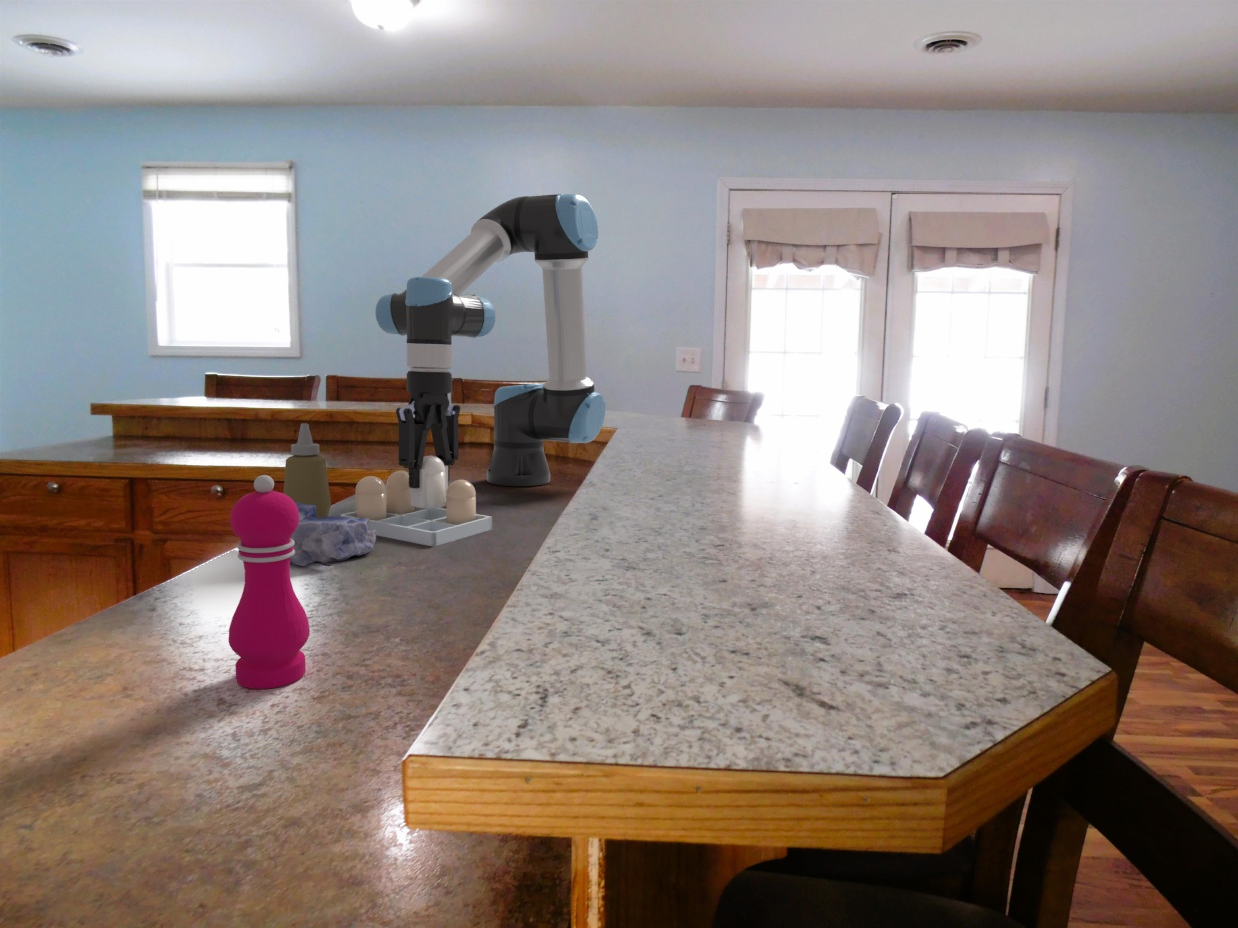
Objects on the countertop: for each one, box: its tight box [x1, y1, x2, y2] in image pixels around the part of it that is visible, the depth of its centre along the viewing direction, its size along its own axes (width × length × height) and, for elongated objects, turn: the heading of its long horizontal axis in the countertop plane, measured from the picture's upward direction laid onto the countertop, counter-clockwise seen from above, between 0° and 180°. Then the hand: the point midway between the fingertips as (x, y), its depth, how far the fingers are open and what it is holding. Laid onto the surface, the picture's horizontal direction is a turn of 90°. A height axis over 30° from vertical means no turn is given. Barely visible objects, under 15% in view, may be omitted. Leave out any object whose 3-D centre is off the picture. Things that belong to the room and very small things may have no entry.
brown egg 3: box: [445, 479, 477, 525], centre depth 135 cm, size 5×5×9 cm
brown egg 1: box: [355, 475, 387, 521], centre depth 136 cm, size 5×5×9 cm
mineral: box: [290, 503, 377, 567], centre depth 117 cm, size 14×10×10 cm
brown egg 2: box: [385, 470, 415, 515], centre depth 142 cm, size 5×5×9 cm
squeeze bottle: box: [282, 423, 332, 518], centre depth 138 cm, size 8×8×18 cm
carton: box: [337, 504, 494, 548], centre depth 136 cm, size 15×22×3 cm
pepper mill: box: [228, 474, 311, 690], centre depth 76 cm, size 7×7×20 cm
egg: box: [419, 455, 446, 508], centre depth 138 cm, size 5×5×9 cm
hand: (429, 503), depth 138 cm, fingers closed on egg, 5 cm apart
